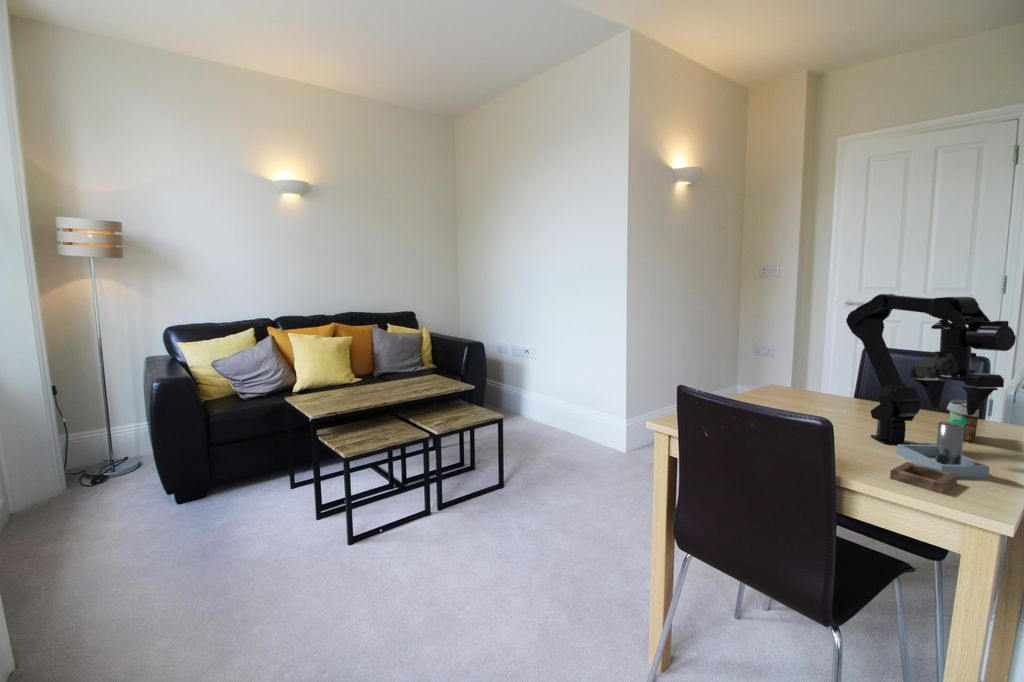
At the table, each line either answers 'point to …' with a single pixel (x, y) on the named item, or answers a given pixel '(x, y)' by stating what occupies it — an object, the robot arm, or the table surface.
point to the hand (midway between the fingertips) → (951, 411)
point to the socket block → (924, 477)
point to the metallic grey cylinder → (949, 443)
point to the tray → (919, 457)
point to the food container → (964, 419)
